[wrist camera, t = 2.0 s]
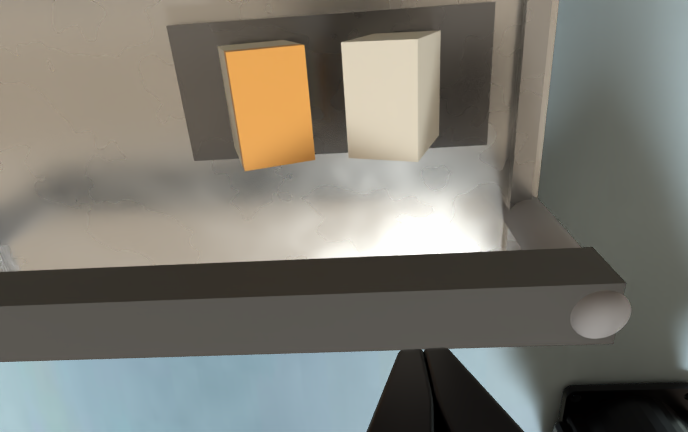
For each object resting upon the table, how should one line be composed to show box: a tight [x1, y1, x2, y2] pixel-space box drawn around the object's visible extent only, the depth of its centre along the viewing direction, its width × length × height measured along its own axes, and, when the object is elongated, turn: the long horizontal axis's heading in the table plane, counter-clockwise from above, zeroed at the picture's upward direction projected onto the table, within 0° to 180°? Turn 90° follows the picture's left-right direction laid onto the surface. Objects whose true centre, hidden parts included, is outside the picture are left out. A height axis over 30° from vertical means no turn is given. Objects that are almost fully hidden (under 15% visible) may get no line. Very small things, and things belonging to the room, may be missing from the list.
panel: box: [0, 0, 559, 272], centre depth 18 cm, size 24×16×2 cm, turn 94°
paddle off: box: [218, 40, 315, 171], centre depth 15 cm, size 2×3×3 cm, turn 4°
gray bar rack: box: [0, 196, 631, 362], centre depth 15 cm, size 25×13×8 cm, turn 94°
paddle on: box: [341, 30, 441, 162], centre depth 15 cm, size 2×3×3 cm, turn 4°
